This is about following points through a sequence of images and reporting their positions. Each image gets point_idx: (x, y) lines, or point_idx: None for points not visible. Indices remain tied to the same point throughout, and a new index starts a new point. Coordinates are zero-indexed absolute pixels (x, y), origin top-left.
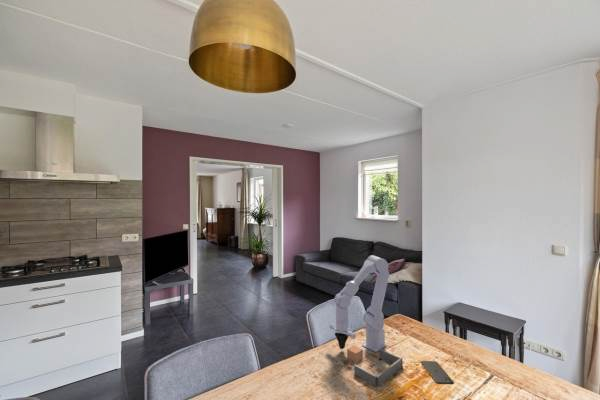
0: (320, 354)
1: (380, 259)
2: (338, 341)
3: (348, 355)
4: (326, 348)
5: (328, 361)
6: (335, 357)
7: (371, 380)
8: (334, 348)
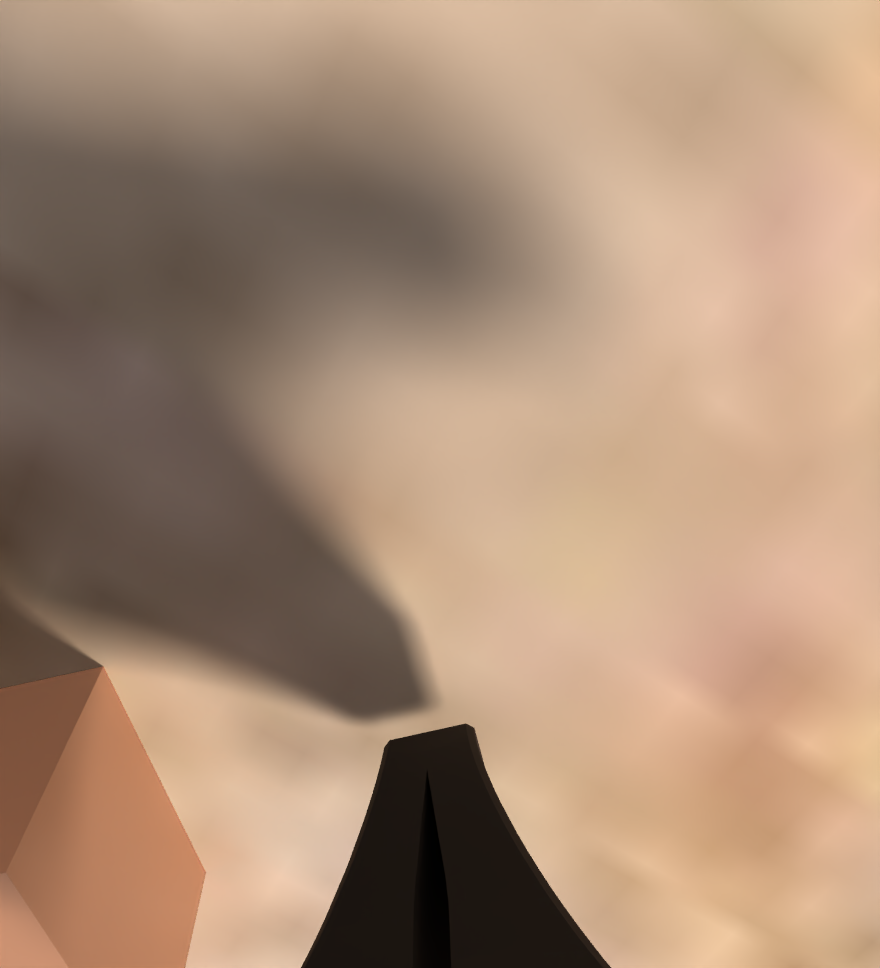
0: (652, 5)
1: None
2: (502, 885)
3: (28, 731)
4: (809, 428)
5: (95, 4)
6: (234, 389)
7: None
8: (659, 622)
